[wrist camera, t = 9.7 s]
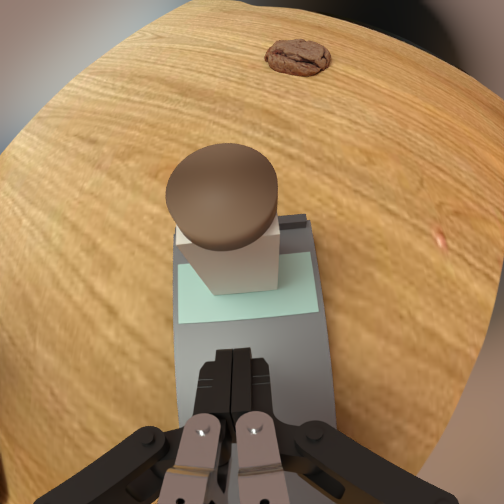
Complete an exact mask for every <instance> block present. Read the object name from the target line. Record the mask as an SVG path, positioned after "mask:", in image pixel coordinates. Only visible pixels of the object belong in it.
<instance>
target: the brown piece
mask: <svg viewBox="0 0 504 504" xmlns="http://www.w3.org/2000/svg"><path fill="white" fill-rule="evenodd" d="M277 200H278V183H277V176H276V173H275V170H274V168H273V166H272V165H271V163H270V162H269V161H268V159H267V158H266V157H265V156H264V155H262V154H261V153H260V152H258V151H256V150H254V149H252V148H250V147H247V146H244V145H240V144H233V143H223V144H215V145H211V146H207V147H204V148H202V149H199V150H197V151H195V152H193V153H192V154H190V155H189V156H187V157H186V158H185V159H184V160H183V161H182V162H181V163H180V164H179V165H178V166H177V167H176V168H175V169H174V171H173V173H172V174H171V176H170V178H169V180H168V184H167V187H166V204H167V207H168V210H169V212H170V214H171V216H172V218H173V219H174V221H175V222H176V246H177V247H178V249H179V250H180V251H181V253H182V254H183V255H184V257H185V258H186V259H187V261H188V262H189V263H190V265H191V266H192V268H193V269H194V270H195V272H196V273H197V274H198V276H199V277H200V278H201V279H202V281H203V282H204V283H205V285H206V286H207V287H208V289H209V290H210V291H211V293H212V294H213V295H224V294H236V293H247V292H258V291H268V290H277V288H278V268H279V245H280V231H279V223H278V216H277Z"/></svg>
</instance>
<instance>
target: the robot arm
mask: <svg viewBox="0 0 504 504" xmlns="http://www.w3.org/2000/svg"><path fill="white" fill-rule="evenodd" d="M234 443H237V451H238V463H239V472H238V486H239V497H240V504H290V502H289V497H288V492H287V486H286V481H285V476H284V471H287V472H293V473H297V475H298V476H299V477H301V478H302V479H303V480H305V481H306V482H307V483H308V484H310V485H311V486H312V487H314V488H315V489H316V490H318V491H319V492H321V493H322V494H323V495H325V496H326V497H327V498H329V499H330V500H332V501H333V502H335V503H336V504H459V503H458V500H457V499H456V497H455V496H454V495H452V494H450V493H448V492H446V491H444V490H442V489H440V488H438V487H436V486H434V485H432V484H429V483H428V482H426V481H424V480H422V479H420V478H418V477H416V476H414V475H412V474H411V473H409V472H407V471H405V470H403V469H401V468H400V467H398V466H396V465H394V464H392V463H391V462H389V461H387V460H385V459H384V458H382V457H380V456H379V455H377V454H375V453H373V452H372V451H370V450H368V449H367V448H365V447H364V446H362V445H360V444H359V443H357V442H355V441H354V440H352V439H351V438H349V437H347V436H346V435H344V434H343V433H341V432H340V431H338V430H337V429H335V428H334V427H332V426H330V425H329V424H327V423H326V422H323V421H319V420H312V421H308V422H305V423H303V424H302V425H300V426H296V425H289V424H286V423H283V422H281V421H280V420H278V419H277V418H276V417H275V415H274V413H273V404H272V393H271V382H270V372H269V365H268V363H267V362H266V361H265V359H264V358H252V353H251V347H245V348H234V350H233V349H218V350H216V356H215V361H207V362H205V363H204V365H203V366H202V367H201V369H200V371H199V378H198V384H197V390H196V397H195V403H194V410H193V415H192V417H191V418H189V419H188V420H187V422H186V423H185V426H183V427H181V428H179V429H175V430H171V431H167V432H162V431H161V430H160V429H159V428H157V427H154V426H145V427H142V428H140V429H138V430H137V431H135V432H134V433H133V434H131V435H130V436H129V437H127V438H126V439H125V440H123V441H122V442H121V443H119V444H118V445H117V446H115V447H114V448H112V449H111V450H110V451H108V452H107V453H105V454H104V455H103V456H101V457H100V458H98V459H97V460H96V461H94V462H93V463H91V464H90V465H88V466H87V467H86V468H84V469H83V470H81V471H80V472H78V473H77V474H75V475H74V476H72V477H71V478H69V479H68V480H66V481H65V482H63V483H62V484H60V485H59V486H57V487H56V488H54V489H52V490H51V491H49V492H48V493H46V494H44V495H43V496H41V497H40V498H38V499H37V500H36V501H35V502H34V503H33V504H151V503H152V502H154V501H155V500H156V499H157V498H159V500H158V503H157V504H228V488H229V480H230V472H231V463H232V456H231V453H232V444H234Z"/></svg>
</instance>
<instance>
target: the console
mask: <svg viewBox="0 0 504 504" xmlns="http://www.w3.org/2000/svg"><path fill="white" fill-rule="evenodd" d="M278 223H279V231H280V245H279V268H278V288H277V290H268V291H258V292H247V293H236V294H224V295H213V294H212V293H211V291H210V290H209V289H208V287H207V286H206V285H205V283H204V282H203V281H202V279H201V278H200V277H199V276H198V274H197V273H196V272H195V270H194V269H193V268H192V266H191V265H190V263H189V262H188V261H187V259H186V258H185V257H184V255H183V254H182V253H181V251H180V250H179V249H178V247H177V246H176V227H175V234H174V245H173V328H174V356H175V376H176V391H177V405H178V417H179V428H181V427H183V426H185V423H186V422H187V420H188V419H189V418H191V417H192V415H193V410H194V403H195V397H196V390H197V384H198V378H199V371H200V369H201V367H202V366H203V365H204V363H205V362H207V361H215V356H216V350H218V349H233V350H234V348H245V347H251V353H252V358H264V359H265V361H266V362H267V363H268V365H269V372H270V382H271V393H272V404H273V413H274V415H275V417H276V418H277V419H278V420H280V421H281V422H283V423H286V424H289V425H296V426H300V425H302V424H303V423H305V422H308V421H312V420H319V421H323V422H326V423H327V424H329V425H330V426H332V427H334V428H335V429H337V425H336V412H335V400H334V389H333V378H332V368H331V359H330V350H329V342H328V333H327V325H326V318H325V310H324V303H323V296H322V289H321V282H320V276H319V270H318V263H317V257H316V251H315V245H314V239H313V234H312V228H311V222H310V220H307V218H306V214H297V215H286V216H278ZM231 456H232V463H231V472H230V480H229V488H228V504H240V497H239V486H238V472H239V463H238V451H237V443H234V444H232V453H231ZM284 476H285V481H286V486H287V492H288V497H289V502H290V504H336V503H335V502H333V501H332V500H330V499H329V498H327V497H326V496H325V495H323V494H322V493H321V492H319V491H318V490H316V489H315V488H314V487H312V486H311V485H310V484H308V483H307V482H306V481H305V480H303V479H302V478H301V477H299V476H298V475H297V473H293V472H287V471H284Z"/></svg>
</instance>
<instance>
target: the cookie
mask: <svg viewBox="0 0 504 504" xmlns="http://www.w3.org/2000/svg"><path fill="white" fill-rule="evenodd" d="M330 58H331V55H330V52H329V51H328V50H327V49H326V48H325V47H324V46H322V45H320V44H318V43H316V42H313V41H305V40H304V39H295V40H287V41H286V40H279V41H276V42H275V43H274V44H273V46H272V47H270V48H269V49H268V51H267V52H266V55H265V57H264V59H265V61H266V62H268V64H269V66H270V67H271V68H272V69H273V70H275V71H277V72H281V73H285V74H289V75H295V76H312V75H314V74H316V73H318V72H319V71H320V70H322V71H324V69H325V68H328V67H329V62H330Z"/></svg>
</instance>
